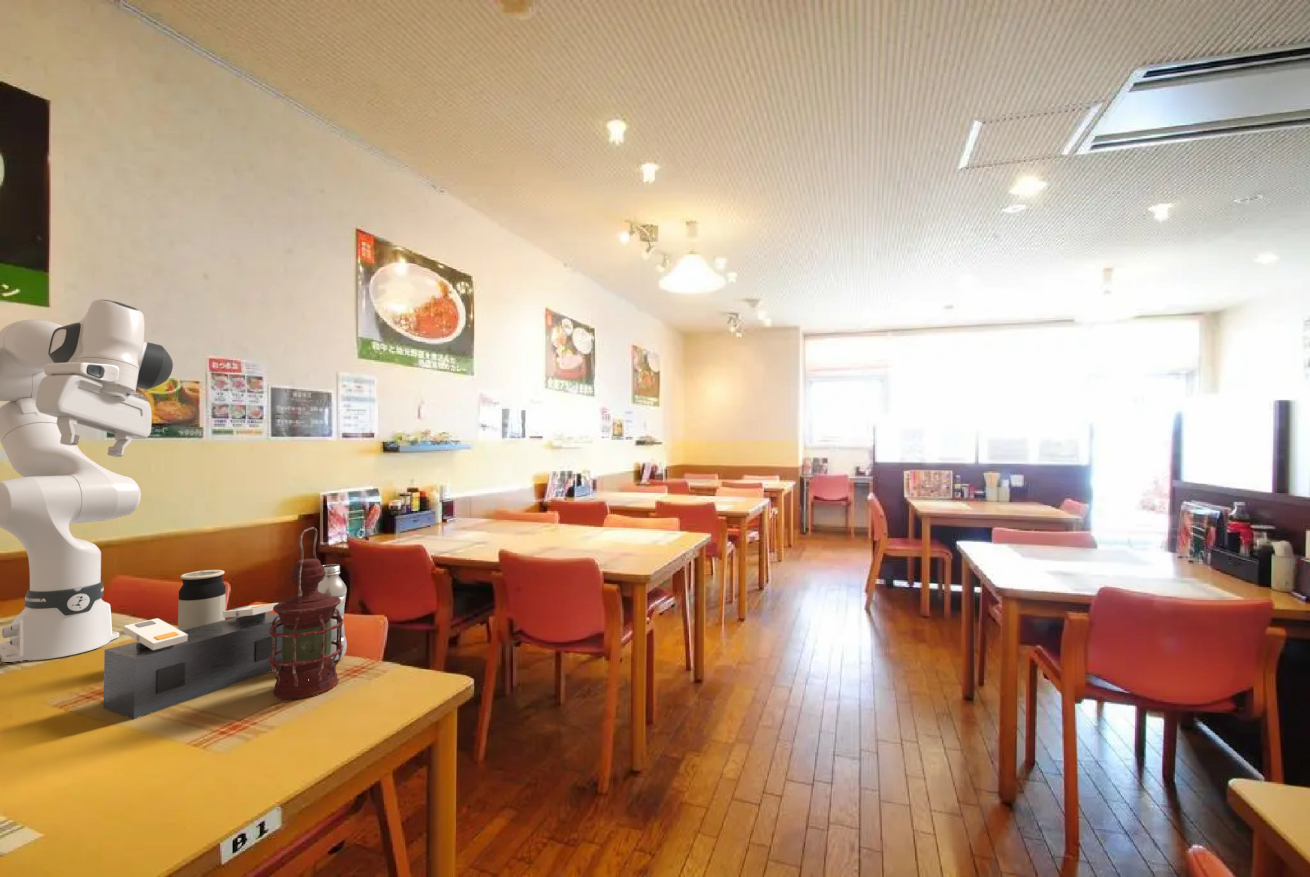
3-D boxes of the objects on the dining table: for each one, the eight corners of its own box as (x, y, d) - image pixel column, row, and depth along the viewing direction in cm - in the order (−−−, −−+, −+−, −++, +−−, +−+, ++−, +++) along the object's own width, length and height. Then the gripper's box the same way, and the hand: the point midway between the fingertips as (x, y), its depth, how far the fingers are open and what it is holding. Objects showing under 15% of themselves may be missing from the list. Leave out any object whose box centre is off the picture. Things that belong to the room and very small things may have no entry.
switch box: (103, 707, 98) (104, 644, 98) (260, 657, 122) (261, 606, 122) (135, 719, 94) (136, 652, 94) (291, 665, 117) (292, 611, 118)
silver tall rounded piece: (331, 667, 116) (332, 569, 117) (303, 664, 117) (304, 568, 118) (353, 656, 122) (354, 563, 123) (326, 653, 124) (328, 562, 124)
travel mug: (223, 658, 121) (224, 574, 121) (174, 666, 116) (176, 579, 117) (225, 648, 127) (227, 568, 128) (180, 655, 123) (181, 572, 123)
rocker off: (223, 617, 115) (222, 611, 115) (249, 611, 119) (248, 605, 120) (253, 615, 111) (252, 608, 111) (279, 608, 115) (278, 602, 116)
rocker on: (122, 632, 100) (123, 625, 100) (157, 624, 105) (157, 617, 105) (153, 650, 96) (153, 642, 96) (187, 641, 101) (188, 633, 101)
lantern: (330, 698, 102) (332, 531, 102) (254, 705, 99) (257, 533, 100) (352, 672, 113) (353, 523, 114) (284, 677, 111) (286, 524, 112)
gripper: (133, 398, 118) (123, 463, 115) (35, 361, 98) (18, 438, 95) (165, 397, 118) (155, 461, 115) (73, 359, 99) (58, 436, 95)
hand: (92, 450), depth 105 cm, fingers open, 8 cm apart
